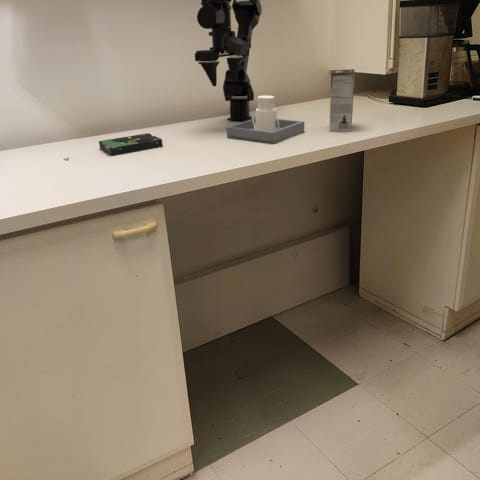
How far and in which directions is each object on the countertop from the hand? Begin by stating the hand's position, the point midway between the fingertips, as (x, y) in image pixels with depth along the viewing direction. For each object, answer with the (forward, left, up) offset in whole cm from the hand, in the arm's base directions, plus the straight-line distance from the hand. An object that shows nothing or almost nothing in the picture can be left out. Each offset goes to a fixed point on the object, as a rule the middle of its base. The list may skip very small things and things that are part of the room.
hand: (224, 84), depth 145 cm
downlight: (+3, +17, -12) cm, 21 cm away
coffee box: (-14, +32, -13) cm, 37 cm away
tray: (+3, +17, -13) cm, 22 cm away
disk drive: (+32, -8, -14) cm, 36 cm away
